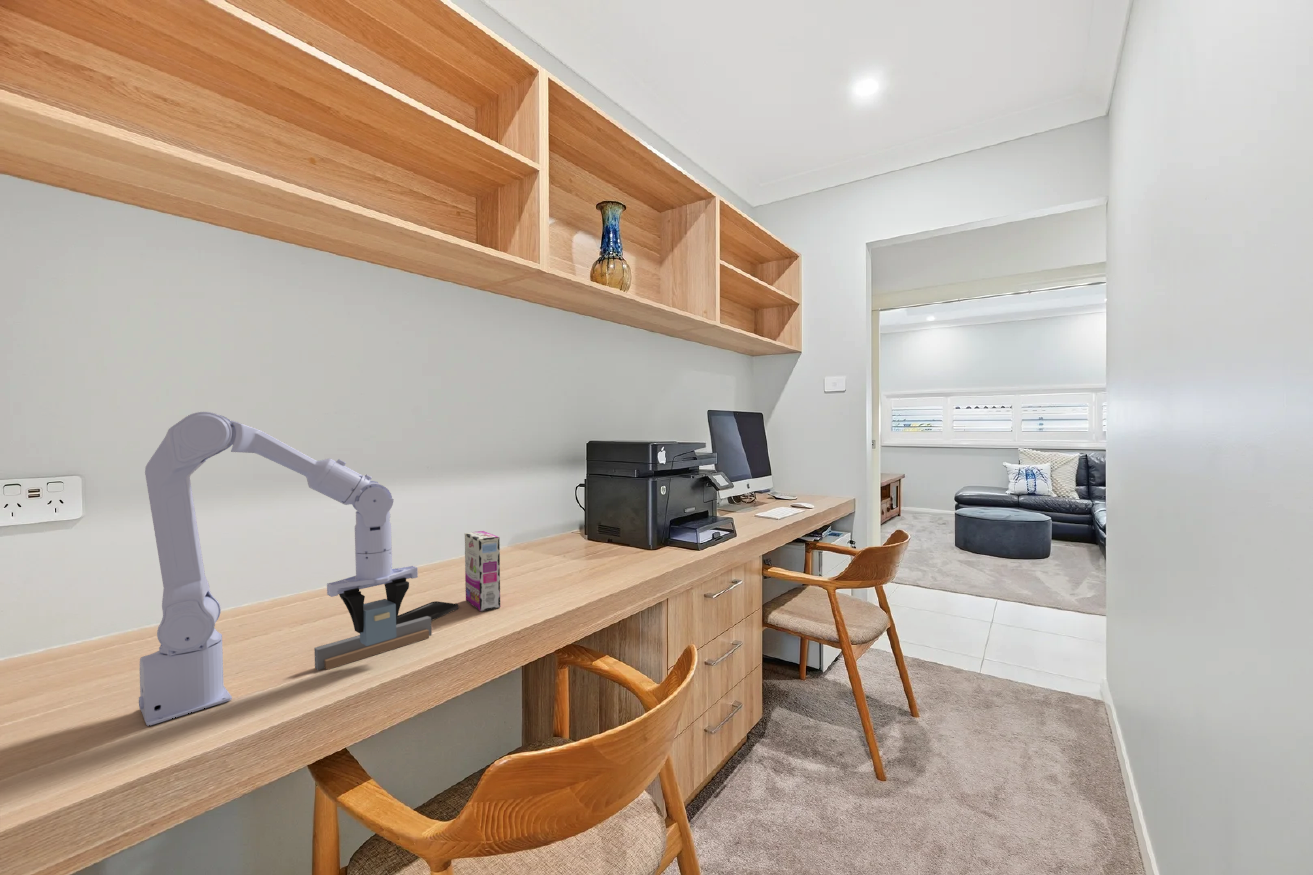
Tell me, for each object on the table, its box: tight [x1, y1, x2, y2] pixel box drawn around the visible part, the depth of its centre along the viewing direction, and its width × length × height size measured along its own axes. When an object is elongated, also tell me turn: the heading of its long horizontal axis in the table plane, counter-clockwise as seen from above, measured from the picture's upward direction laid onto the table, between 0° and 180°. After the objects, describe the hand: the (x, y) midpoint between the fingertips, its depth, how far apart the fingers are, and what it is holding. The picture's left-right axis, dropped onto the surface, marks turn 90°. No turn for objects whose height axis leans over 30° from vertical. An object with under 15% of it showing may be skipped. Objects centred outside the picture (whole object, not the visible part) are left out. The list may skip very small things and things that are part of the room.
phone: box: [396, 601, 459, 625], centre depth 118 cm, size 8×1×15 cm
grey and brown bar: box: [313, 616, 433, 671], centre depth 99 cm, size 20×3×4 cm, turn 139°
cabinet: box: [359, 598, 396, 646], centre depth 95 cm, size 5×5×6 cm
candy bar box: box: [464, 530, 501, 612], centre depth 126 cm, size 11×5×16 cm, turn 37°
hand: (376, 626), depth 95 cm, fingers closed on cabinet, 5 cm apart
